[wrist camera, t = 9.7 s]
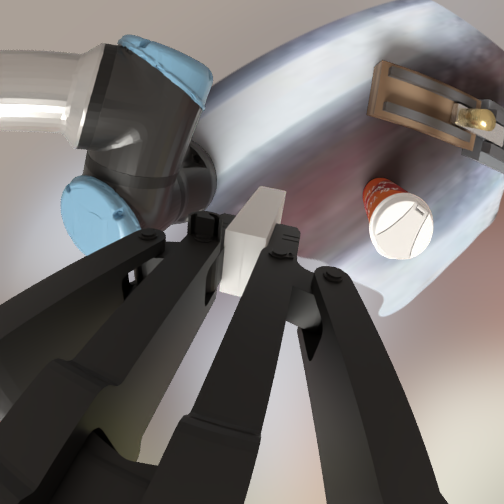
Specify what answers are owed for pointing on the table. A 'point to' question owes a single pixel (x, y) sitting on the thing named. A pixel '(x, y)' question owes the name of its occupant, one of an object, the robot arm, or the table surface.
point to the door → (419, 103)
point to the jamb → (483, 150)
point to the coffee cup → (397, 220)
